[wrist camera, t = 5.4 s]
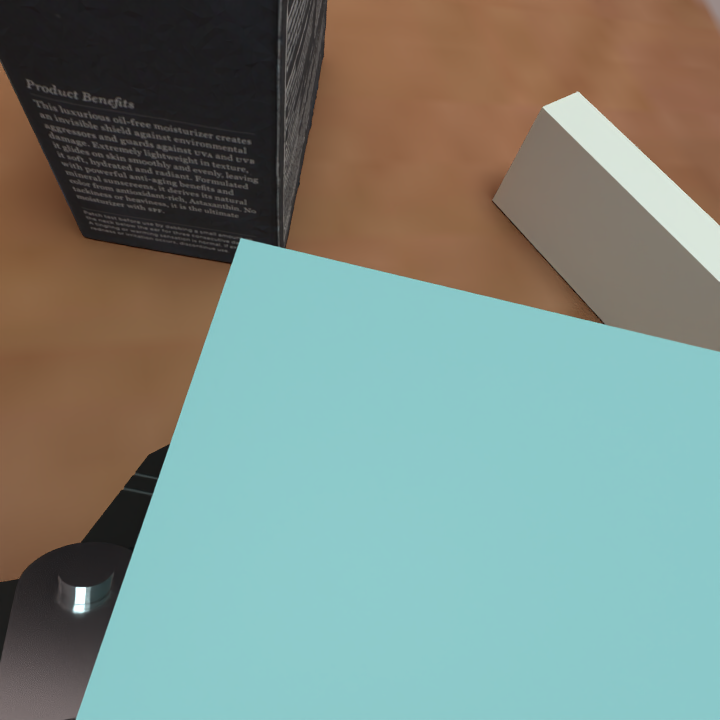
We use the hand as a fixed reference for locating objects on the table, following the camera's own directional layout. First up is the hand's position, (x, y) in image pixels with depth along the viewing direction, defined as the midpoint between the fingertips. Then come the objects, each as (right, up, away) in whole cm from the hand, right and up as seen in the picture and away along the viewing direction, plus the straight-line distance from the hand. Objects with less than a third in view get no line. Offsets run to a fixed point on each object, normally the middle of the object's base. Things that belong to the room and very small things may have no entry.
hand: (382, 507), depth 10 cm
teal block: (-1, -3, +3) cm, 5 cm away
